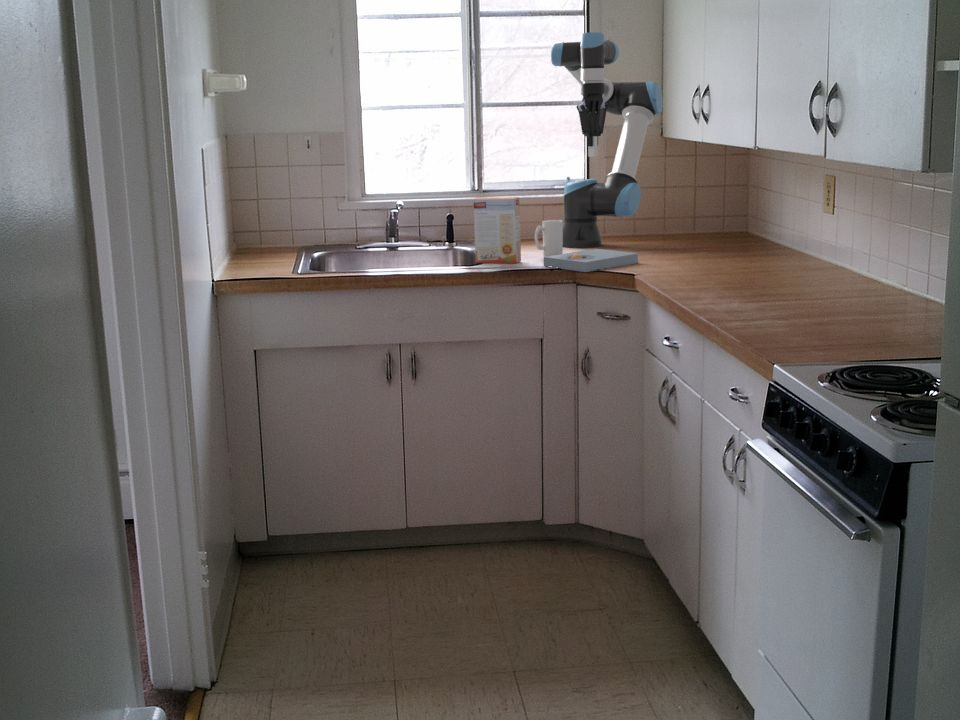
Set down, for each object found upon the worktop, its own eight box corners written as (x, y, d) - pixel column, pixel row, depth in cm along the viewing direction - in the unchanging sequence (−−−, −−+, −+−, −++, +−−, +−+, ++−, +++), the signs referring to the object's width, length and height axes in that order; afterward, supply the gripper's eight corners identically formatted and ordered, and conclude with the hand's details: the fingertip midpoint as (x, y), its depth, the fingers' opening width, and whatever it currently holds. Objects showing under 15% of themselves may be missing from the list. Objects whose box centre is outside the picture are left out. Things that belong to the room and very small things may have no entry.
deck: (595, 257, 343) (595, 248, 342) (637, 262, 329) (637, 253, 329) (543, 266, 327) (543, 257, 327) (585, 272, 314) (585, 262, 313)
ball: (578, 261, 328) (571, 252, 326) (587, 259, 325) (580, 250, 323) (573, 270, 326) (566, 261, 324) (582, 268, 323) (575, 259, 321)
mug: (557, 255, 351) (557, 219, 349) (566, 257, 345) (566, 221, 342) (530, 257, 348) (529, 221, 345) (539, 260, 342) (538, 223, 339)
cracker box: (521, 261, 339) (520, 196, 334) (516, 264, 334) (515, 198, 329) (480, 260, 344) (478, 196, 339) (474, 263, 338) (473, 198, 333)
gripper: (597, 82, 344) (597, 155, 349) (570, 83, 336) (570, 157, 341) (614, 81, 338) (614, 155, 344) (587, 82, 330) (587, 157, 336)
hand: (592, 156), depth 342 cm, fingers closed
